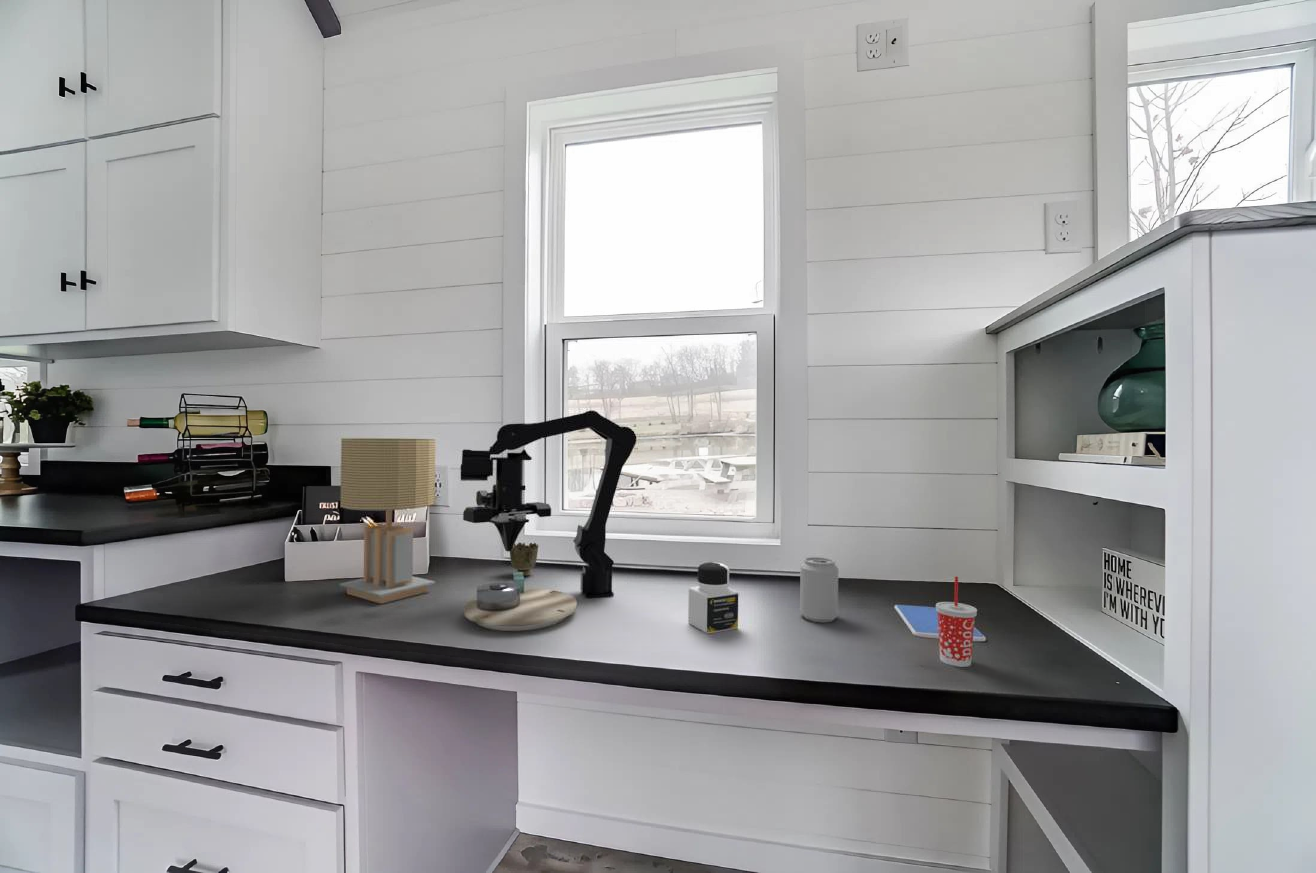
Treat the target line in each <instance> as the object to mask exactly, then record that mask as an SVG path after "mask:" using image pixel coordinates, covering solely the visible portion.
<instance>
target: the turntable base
mask: <svg viewBox="0 0 1316 873" xmlns="http://www.w3.org/2000/svg"><path fill="white" fill-rule="evenodd" d="M564 619H565V618H562V619H559V620H556V621H552V622H548V623H543V624H537V625H529V626H492V625H485V624H480V623H476V624H477V625H478V626H480V627H482V628H485V629H489V630H494V631H503V632H504V631H505V632H522V631H523V632H524V631H531V630H539V629H543V628H548V627H550V626H553V625H556V624H558V623H561V622H562V621H563V620H564Z"/></svg>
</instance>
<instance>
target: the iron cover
mask: <svg viewBox="0 0 1316 873" xmlns="http://www.w3.org/2000/svg"><path fill="white" fill-rule="evenodd" d="M476 597H477V605H476V607H477V608H478V609H479V610H483V611H506V610H511V609H514V608H516V607H518V606H519V605H520V585H519V584H516V583H513V582H507V581H506V582H504V581H503V582H501V581H499V582H489V583H485V584H484V583H483V584H482V585H480V586H478V587H476Z"/></svg>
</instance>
